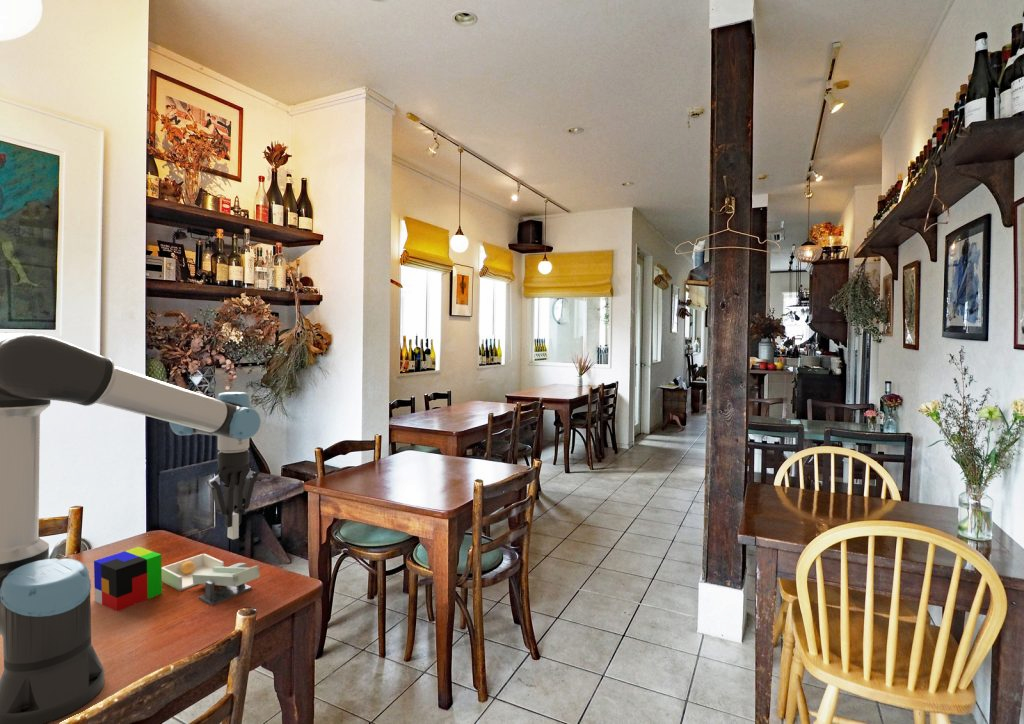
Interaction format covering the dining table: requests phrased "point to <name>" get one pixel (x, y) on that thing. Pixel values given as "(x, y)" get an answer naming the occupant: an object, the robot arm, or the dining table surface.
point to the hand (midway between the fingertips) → (233, 537)
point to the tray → (184, 581)
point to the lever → (228, 575)
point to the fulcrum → (221, 592)
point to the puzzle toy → (127, 578)
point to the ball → (187, 567)
